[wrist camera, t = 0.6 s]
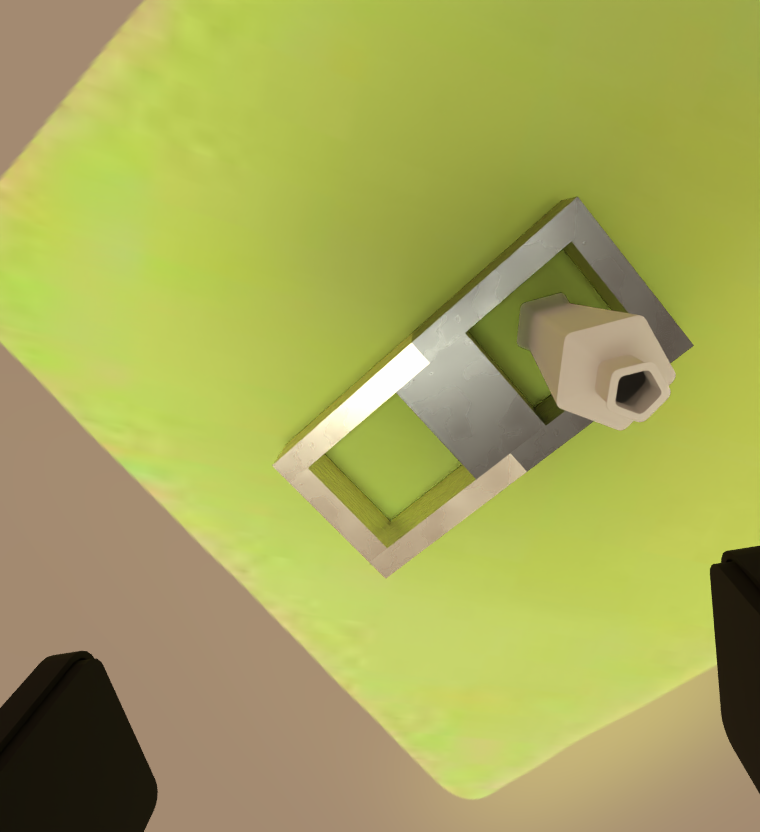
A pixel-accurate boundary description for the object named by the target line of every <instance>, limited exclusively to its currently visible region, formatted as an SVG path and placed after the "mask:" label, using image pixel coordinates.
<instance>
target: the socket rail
mask: <svg viewBox="0 0 760 832" xmlns="http://www.w3.org/2000/svg"><path fill="white" fill-rule="evenodd" d="M562 249H563V250H564V251H565V252H566V253H567V255H568V256H569V257H570V258H571V260H572V261H573V262H574V263H575V264H576V266H577V267H578V268H579V269H580V271H581V272H582V273H583V274H584V276H585V277H586V278H587V279H588V281H589V282H590V283H591V284H592V286H593V287H594V288H595V289H596V291H597V292H598V293H599V294H600V296H601V297H602V298H603V299H604V301H605V302H606V303H607V304H608V306H609V307H610V308H611V309H612V311H618V312H624V313H629V314H635V315H641V316H643V317H644V318H645V319H646V320H647V322H648V324H649V326H650V328H651V330H652V331H653V333H654V335H655V337H656V339H657V340H658V342H659V344H660V346H661V348H662V350H663V351H664V353H665V355H666V357H667V359H668V360H669V362H670V363H671V362H673V361H674V360H675V359H677V358H678V357H679V356H681V355H682V354H683V353H685V352H686V351H687V350H689V349H690V348H691V347H693V346H694V345H693V344H692V343H691V341H690V340H689V339H688V337H687V336H686V335H685V334H684V332H683V331H682V330H681V328H680V327H679V326H678V325H677V323H676V322H675V321H674V320H673V318H672V317H671V316H670V314H669V313H668V312H667V311H666V309H665V308H664V307H663V305H662V304H661V303H660V302H659V300H658V299H657V298H656V296H655V295H654V294H653V293H652V291H651V290H650V289H649V288H648V286H647V285H646V284H645V282H644V281H643V280H642V279H641V277H640V276H639V275H638V273H637V272H636V271H635V270H634V268H633V267H632V266H631V264H630V263H629V262H628V261H627V259H626V258H625V257H624V256H623V254H622V253H621V252H620V250H619V249H618V248H617V247H616V245H615V244H614V243H613V241H612V240H611V239H610V238H609V236H608V235H607V234H606V232H605V231H604V230H603V229H602V227H601V226H600V225H599V224H598V222H597V221H596V220H595V218H594V217H593V216H592V215H591V213H590V212H589V211H588V209H587V208H586V207H585V206H584V204H583V203H582V202H581V200H580V199H579V198H578V197H574V198H570V199H566V200H561V201H560V202H559V203H558V204H557V205H556V206H555V207H554V208H552V209H551V210H550V211H549V212H548V213H547V214H546V215H544V216H543V217H542V218H541V219H540V220H539V221H538V222H537V223H535V224H534V225H533V226H532V227H531V228H530V229H529V230H528V231H526V232H525V233H524V234H523V235H522V236H521V237H520V238H519V239H517V240H516V241H515V242H514V243H513V244H512V245H511V246H510V247H508V248H507V249H506V250H505V251H504V252H503V253H502V254H500V255H499V256H498V257H497V258H496V259H495V260H494V261H493V262H491V263H490V264H489V265H488V266H487V267H486V268H485V269H484V270H482V271H481V272H480V273H479V274H478V275H477V276H476V277H475V278H473V279H472V280H471V281H470V282H469V283H468V284H467V285H465V286H464V287H463V288H462V289H461V290H460V291H459V292H458V293H456V294H455V295H454V296H453V297H452V298H451V299H450V300H449V301H447V302H446V303H445V304H444V305H443V306H442V307H441V308H440V309H438V310H437V311H436V312H435V313H434V314H433V315H432V316H431V317H429V318H428V319H427V320H426V321H425V322H424V323H423V324H421V325H420V326H419V327H418V328H417V329H416V330H415V331H414V332H412V333H411V334H410V335H409V336H408V337H407V338H406V339H405V340H403V341H402V342H401V343H400V344H399V345H398V346H397V347H396V348H394V349H393V350H392V351H391V352H390V353H389V354H388V355H386V356H385V357H384V358H383V359H382V360H381V361H380V362H379V363H377V364H376V365H375V366H374V367H373V368H372V369H371V370H370V371H368V372H367V373H366V374H365V375H364V376H363V377H362V378H361V379H359V380H358V381H357V382H356V383H355V384H354V385H353V386H352V387H350V388H349V389H348V390H347V391H346V392H345V393H344V394H342V395H341V396H340V397H339V398H338V399H337V400H336V401H335V402H333V403H332V404H331V405H330V406H329V407H328V408H327V409H326V410H324V411H323V412H322V413H321V414H320V415H319V416H318V417H317V418H315V419H314V420H313V421H312V422H311V423H310V424H309V425H307V426H306V427H305V428H304V429H303V430H302V431H301V432H300V433H298V434H297V435H296V436H295V437H294V438H293V439H292V440H291V441H289V442H288V443H287V444H286V445H285V446H284V448H283V450H282V451H281V453H280V454H279V456H278V457H277V459H276V460H275V462H274V464H273V465H272V466H273V467H274V468H275V469H276V470H277V471H278V472H279V473H280V474H281V475H282V476H283V477H284V478H285V479H286V480H287V481H288V482H289V483H290V484H291V485H292V486H293V487H294V488H295V489H296V490H297V491H298V492H299V493H300V494H301V495H302V496H303V497H304V498H305V499H306V500H307V501H308V502H309V503H310V504H311V505H312V506H313V507H314V508H315V509H316V510H317V511H318V512H319V513H320V514H321V515H322V516H323V517H324V518H325V519H326V520H327V521H328V522H329V523H330V524H331V525H332V526H333V527H334V528H335V529H336V530H337V531H338V532H339V533H340V534H341V535H342V536H343V537H344V538H345V539H346V540H347V541H348V542H349V543H350V544H351V545H352V546H353V547H355V548H356V549H357V550H358V551H359V552H360V553H361V554H362V555H363V556H364V557H365V558H366V559H367V560H368V561H369V562H370V563H371V564H372V565H373V566H374V567H375V568H376V569H377V570H378V571H379V572H380V573H381V574H382V575H383V576H384V577H385V578H387V577H388V576H390V575H391V574H392V573H394V572H395V571H396V570H398V569H399V568H400V567H401V566H403V565H404V564H405V563H407V562H408V561H409V560H411V559H412V558H413V557H415V556H416V555H417V554H419V553H420V552H421V551H423V550H424V549H425V548H427V547H428V546H429V545H431V544H432V543H433V542H435V541H436V540H437V539H439V538H440V537H441V536H443V535H444V534H445V533H446V532H448V531H449V530H450V529H452V528H453V527H454V526H456V525H457V524H458V523H460V522H461V521H462V520H464V519H465V518H466V517H468V516H469V515H470V514H472V513H473V512H474V511H476V510H477V509H478V508H480V507H481V506H482V505H484V504H485V503H486V502H487V501H489V500H490V499H491V498H493V497H494V496H495V495H497V494H498V493H499V492H501V491H502V490H503V489H505V488H506V487H507V486H509V485H510V484H511V483H513V482H514V481H515V480H517V479H518V478H519V477H521V476H522V475H523V474H525V473H526V472H527V471H528V470H530V469H531V468H532V467H534V466H535V465H536V464H538V463H539V462H540V461H542V460H543V459H544V458H546V457H547V456H548V455H550V454H551V453H552V452H554V451H555V450H556V449H558V448H559V447H560V446H562V445H563V444H564V443H566V442H567V441H568V440H569V439H571V438H572V437H573V436H575V435H576V434H577V433H579V432H580V431H581V430H583V429H584V428H585V427H587V426H588V425H589V424H591V423H592V422H593V421H592V420H590V419H587V418H584V417H582V416H579V415H576V414H574V413H571V412H568V411H566V410H563V409H561V408H559V407H558V406H557V404H556V402H555V400H554V398H553V396H552V394H551V395H550V396H549V397H548V398H546V399H545V400H544V401H542V402H541V403H540V404H539V405H537V406H536V407H535V408H534V407H533V406H532V405H531V404H530V402H529V401H528V400H527V399H526V398H525V397H524V395H523V394H522V393H521V392H520V391H519V390H518V389H517V387H516V386H515V385H514V384H513V383H512V382H511V381H510V379H509V378H508V377H507V376H506V375H505V374H504V372H503V371H502V370H501V369H500V368H499V367H498V366H497V364H496V363H495V362H494V361H493V360H492V359H491V358H490V356H489V355H488V354H487V353H486V352H485V351H484V349H483V348H482V347H481V346H480V345H479V344H478V343H477V341H476V340H475V339H474V338H473V337H472V336H471V335H470V333H469V332H468V330H469V329H470V328H471V327H472V326H473V325H475V324H476V323H477V322H478V321H479V320H480V319H482V318H483V317H484V316H485V315H486V314H487V313H489V312H490V311H491V310H492V309H493V308H494V307H496V306H497V305H498V304H499V303H500V302H501V301H502V300H504V299H505V298H506V297H507V296H508V295H509V294H511V293H512V292H513V291H514V290H515V289H516V288H518V287H519V286H520V285H521V284H522V283H523V282H525V281H526V280H527V279H528V278H529V277H530V276H532V275H533V274H534V273H535V272H536V271H537V270H539V269H540V268H541V267H542V266H543V265H544V264H546V263H547V262H548V261H549V260H550V259H551V258H552V257H554V256H555V255H556V254H557V253H558V252H559V251H561V250H562ZM394 393H397V394H398V395H399V396H400V397H401V398H402V399H403V401H404V402H405V403H406V404H407V405H408V406H409V407H410V408H411V409H412V410H413V411H414V412H415V414H416V415H417V416H418V417H419V418H420V419H421V420H422V421H423V422H424V423H425V424H426V425H427V427H428V428H429V429H430V430H431V431H432V432H433V433H434V434H435V435H436V436H437V437H438V439H439V440H440V441H441V442H442V443H443V444H444V445H445V446H446V447H447V448H448V449H449V450H450V452H451V453H452V454H453V455H454V456H455V457H456V458H457V459H458V460H459V461H460V462H461V463H462V465H461V466H460V467H459V468H457V469H456V470H455V471H454V472H452V473H451V474H450V475H448V476H447V477H446V478H445V479H443V480H442V481H441V482H440V483H438V484H437V485H436V486H435V487H433V488H432V489H431V490H429V491H428V492H427V493H426V494H424V495H423V496H422V497H421V498H419V499H418V500H417V501H415V502H414V503H413V504H412V505H410V506H409V507H408V508H407V509H405V510H404V511H403V512H401V513H400V514H399V515H398V516H396V517H395V518H394V519H393V520H391V521H389V520H388V519H387V518H386V516H385V515H384V514H383V513H382V512H381V511H380V510H379V509H378V508H377V507H376V506H375V505H374V504H373V503H372V502H371V501H370V500H369V499H368V498H367V497H366V496H365V495H364V494H363V493H362V492H361V491H360V490H359V489H358V488H357V487H356V486H355V485H354V484H353V483H352V482H351V481H350V480H349V479H348V478H347V477H346V476H345V475H344V474H343V473H342V471H341V470H340V469H339V468H338V467H337V466H336V465H335V464H334V463H333V462H332V461H331V460H330V459H329V458H328V457H327V456H326V455H325V453H326V452H327V451H328V450H329V449H330V448H332V447H333V446H334V445H335V444H336V443H337V442H339V441H340V440H341V439H342V438H343V437H344V436H345V435H347V434H348V433H349V432H350V431H351V430H352V429H354V428H355V427H356V426H357V425H358V424H359V423H361V422H362V421H363V420H364V419H365V418H366V417H368V416H369V415H370V414H371V413H372V412H373V411H375V410H376V409H377V408H378V407H379V406H380V405H382V404H383V403H384V402H385V401H386V400H387V399H389V398H390V397H391V396H392V395H393V394H394Z"/></svg>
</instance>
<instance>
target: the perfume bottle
mask: <svg viewBox="0 0 760 832" xmlns="http://www.w3.org/2000/svg"><path fill="white" fill-rule="evenodd" d="M517 345H518V346H520V347H522V348H524V349H527V350H530V351H531V353H532V355H533V357H534V359H535V361H536V363H537V365H538V367H539V369H540V371H541V373H542V375H543V377H544V380H545V382H546V384H547V386H548V388H549V390H550V392H551V394H552V396H553V398H554V400H555V402H556V404H557V406H558V407H559V408H561V409H563V410H566V411H568V412H571V413H574V414H576V415H579V416H582V417H584V418H587V419H590V420H592V421H595V422H598V423H600V424H603V425H606V426H608V427H611V428H614V429H616V430H624V429H625V428H627V427H628V426H629V425H630V424H631V423H632V422H633V421H636V422H643V421H645V420H646V419H648V418H649V417H650V416H651V415H652V414H653V413H654V412H655V411H656V410H657V409H658V408H659V407H660V406H661V405H662V404H663V403H664V402H665V401H666V400H667V399H668V397H669V396H670V393H671V391H670V388H669V385H670V384H671V383H672V382H673V381H674V379H675V376H676V375H675V371H674V370H673V368H672V366H671V364H670V362H669V360H668V359H667V357H666V355H665V353H664V351H663V350H662V348H661V346H660V344H659V342H658V340H657V339H656V337H655V335H654V333H653V331H652V330H651V328H650V326H649V324H648V322H647V320H646V319H645V318H644V317H643V316H641V315H635V314H629V313H624V312H618V311H612V310H606V309H600V308H594V307H588V306H582V305H576V304H571V303H569V301H568V299H567V297H566V296H565V295H564V294H563V293H558V294H554V295H550V296H547V297H543V298H539V299H536V300H532V301H528V302H525V303H523V304H522V305H521V307H520V316H519V325H518V334H517Z"/></svg>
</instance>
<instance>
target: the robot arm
mask: <svg viewBox="0 0 760 832" xmlns="http://www.w3.org/2000/svg"><path fill="white" fill-rule="evenodd" d="M710 580H711V592H712V605H713V617H714V630H715V642H716V654H717V667H718V679H719V692H720V704H721V715H722V721H723V725H724V728H725V731H726V734H727V737H728V739H729V741H730V743H731V745H732V747H733V749H734V751H735V752H736V754H737V756H738V757H739V759H740V761H741V763H742V764H743V766H744V768H745V769H746V771H747V773H748V775H749V776H750V778H751V780H752V781H753V783H754V785H755V786H756V788H757V790H758V792H759V793H760V546H756V547H749V548H743V549H736V550H730V551H725V552H724V553H723V555H722V558H721V563H718V564H713V565H711V568H710ZM157 792H158V791H157V784H156V781H155V778H154V776H153V774H152V772H151V769H150V767H149V765H148V763H147V761H146V759H145V756H144V754H143V752H142V750H141V747H140V745H139V743H138V741H137V739H136V736H135V734H134V732H133V730H132V728H131V725H130V723H129V721H128V719H127V717H126V715H125V712H124V710H123V708H122V706H121V703H120V701H119V699H118V697H117V695H116V692H115V690H114V688H113V686H112V684H111V682H110V679H109V677H108V675H107V673H106V670H105V668H104V666H103V664H102V663H101V662H100V661H99V660H98V659H94V657H93V656H92V655H91V654H90V653H88V652H87V651H78V652H72V653H65V654H59V655H53V656H49V657H47V658H45V659H44V660H43V661H42V662H41V663H40V664H39V665H38V666H37V667H36V668H35V669H34V671H33V672H32V673H31V674H30V675H29V676H28V677H27V679H26V680H25V681H24V682H23V683H22V684H21V685H20V687H19V688H18V689H17V690H16V691H15V692H14V693H13V694H12V696H11V697H10V698H9V699H8V700H7V701H6V702H5V703H4V704H3V706H2V707H1V708H0V832H144V830H145V828H146V826H147V824H148V822H149V819H150V817H151V815H152V813H153V811H154V808H155V805H156V801H157Z"/></svg>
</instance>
